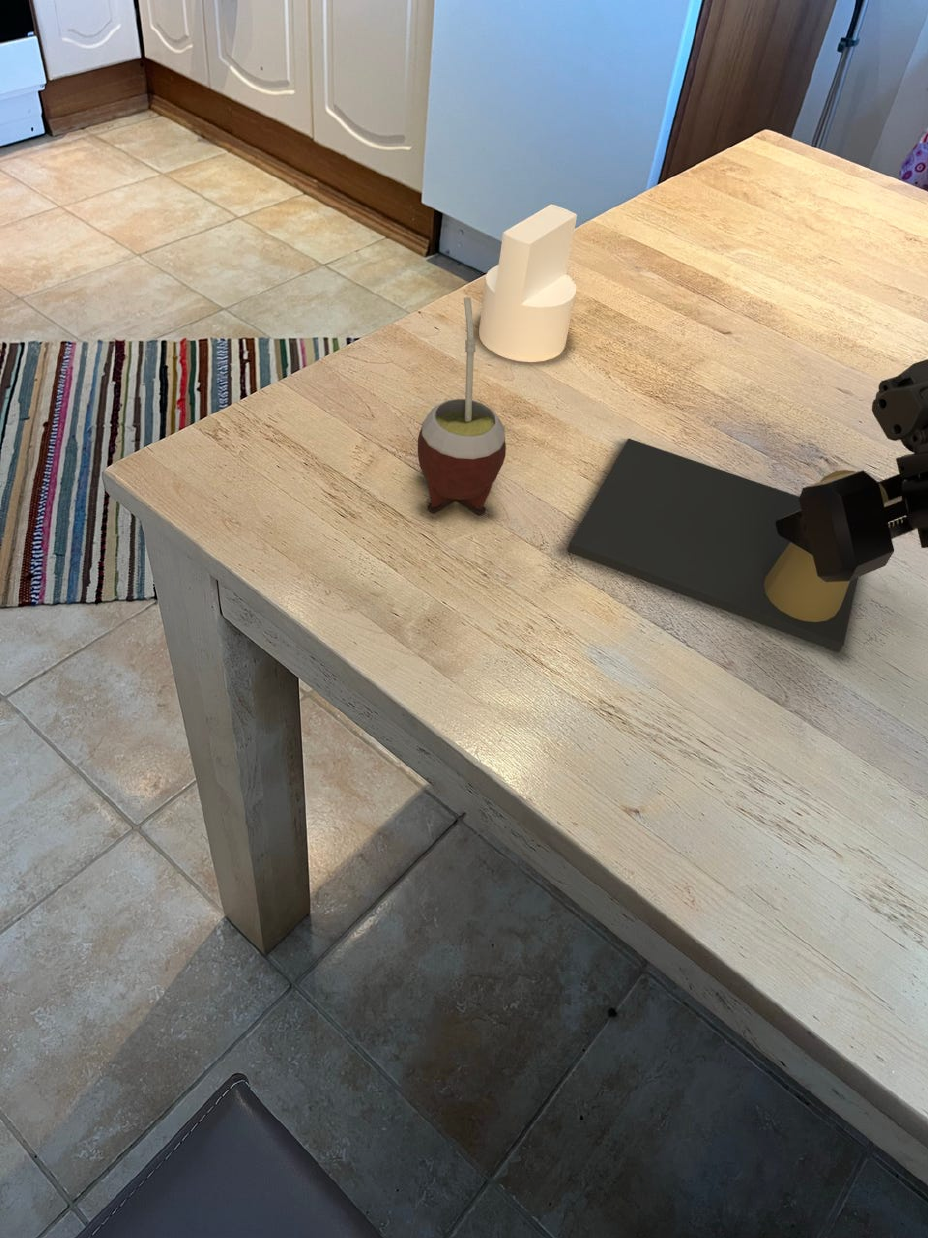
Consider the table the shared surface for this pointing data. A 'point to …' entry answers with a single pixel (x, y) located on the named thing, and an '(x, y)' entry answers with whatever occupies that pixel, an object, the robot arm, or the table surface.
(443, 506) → the mate gourd
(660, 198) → the table surface
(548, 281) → the base with upright slab
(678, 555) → the mat
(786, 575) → the mustard peg figure
